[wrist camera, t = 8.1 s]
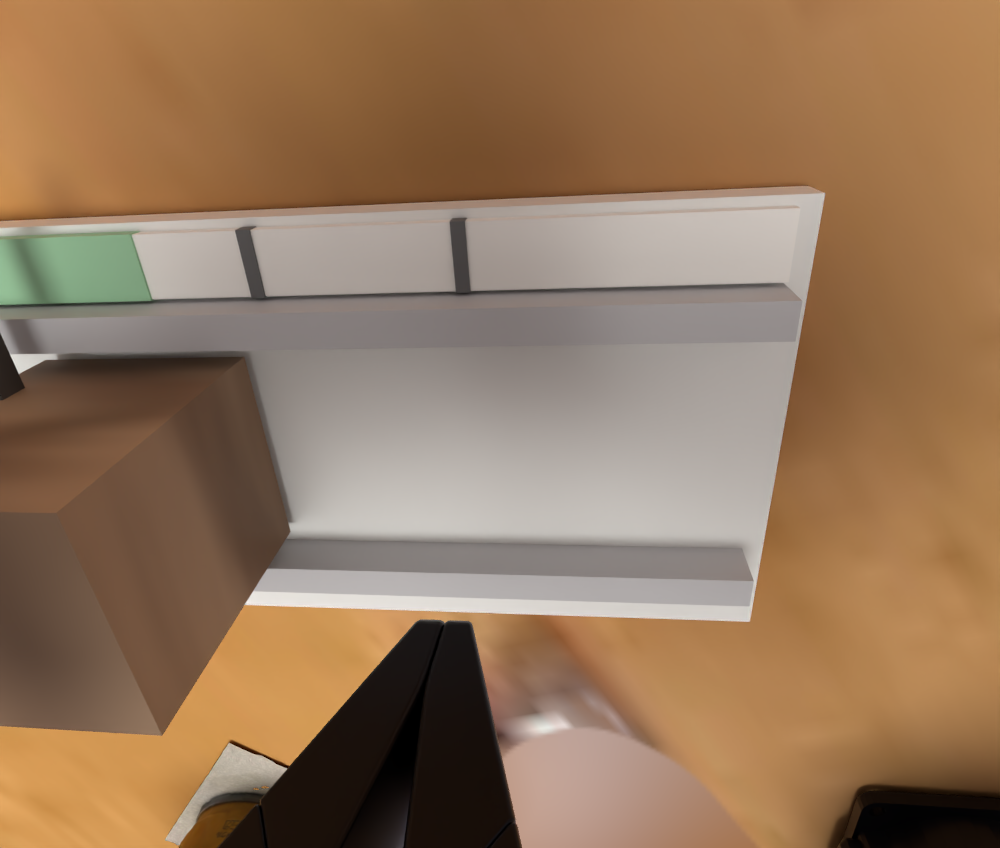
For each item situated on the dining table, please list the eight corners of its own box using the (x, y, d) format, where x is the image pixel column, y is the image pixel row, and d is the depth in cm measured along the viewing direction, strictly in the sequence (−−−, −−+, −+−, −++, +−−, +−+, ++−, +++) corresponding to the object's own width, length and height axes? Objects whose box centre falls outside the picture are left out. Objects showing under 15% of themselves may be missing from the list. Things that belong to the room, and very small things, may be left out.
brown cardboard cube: (205, 211, 13) (-46, 299, 8) (290, 531, 17) (162, 735, 12) (-14, 221, 14) (-385, 308, 8) (117, 528, 17) (-80, 720, 12)
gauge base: (807, 185, 13) (972, 257, 7) (740, 595, 18) (811, 807, 13) (-180, 228, 15) (-568, 303, 10) (10, 574, 21) (-182, 742, 15)
